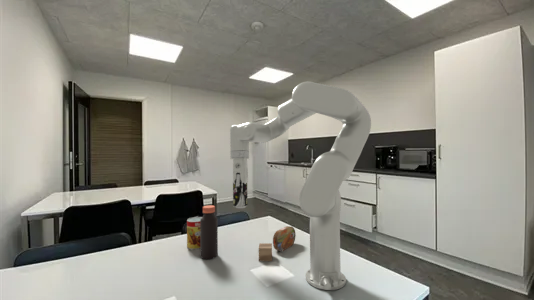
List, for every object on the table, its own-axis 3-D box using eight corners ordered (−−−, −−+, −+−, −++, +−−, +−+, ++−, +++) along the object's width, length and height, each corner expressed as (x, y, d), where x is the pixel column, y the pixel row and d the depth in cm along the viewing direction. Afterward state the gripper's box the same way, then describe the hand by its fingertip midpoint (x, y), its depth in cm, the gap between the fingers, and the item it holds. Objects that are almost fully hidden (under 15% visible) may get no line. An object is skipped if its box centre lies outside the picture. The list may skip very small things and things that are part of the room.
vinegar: (219, 252, 98) (219, 204, 99) (214, 260, 91) (214, 208, 92) (204, 252, 99) (203, 204, 99) (197, 259, 92) (197, 208, 93)
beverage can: (245, 209, 91) (244, 178, 91) (231, 208, 92) (230, 178, 92) (249, 206, 96) (248, 177, 97) (236, 205, 97) (235, 177, 98)
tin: (277, 254, 96) (277, 233, 96) (271, 252, 98) (271, 232, 98) (296, 243, 108) (296, 224, 108) (290, 241, 110) (290, 223, 110)
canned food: (200, 249, 102) (200, 221, 102) (183, 248, 103) (183, 221, 103) (207, 242, 110) (207, 217, 110) (192, 242, 111) (192, 216, 111)
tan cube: (271, 261, 90) (271, 248, 90) (258, 261, 90) (258, 248, 90) (272, 255, 95) (271, 243, 95) (259, 255, 95) (259, 243, 95)
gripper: (246, 155, 86) (247, 205, 86) (251, 155, 103) (251, 197, 102) (226, 155, 87) (227, 205, 86) (234, 155, 103) (234, 197, 102)
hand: (240, 200), depth 94 cm, fingers closed on beverage can, 3 cm apart
